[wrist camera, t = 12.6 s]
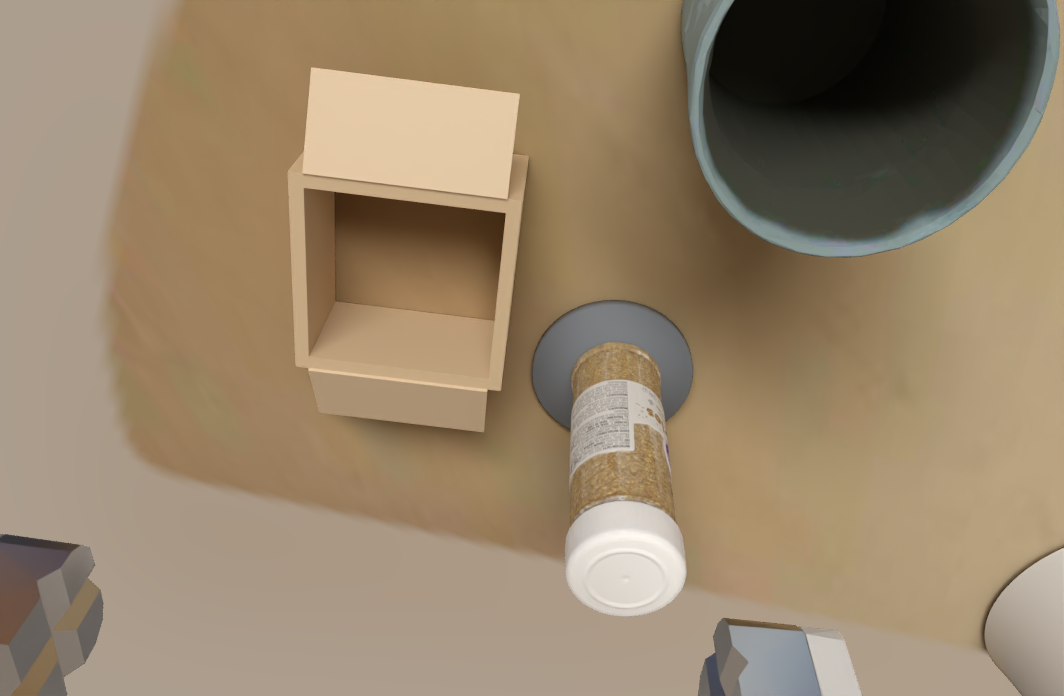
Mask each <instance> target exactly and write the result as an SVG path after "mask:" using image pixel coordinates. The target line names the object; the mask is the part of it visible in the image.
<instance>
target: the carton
mask: <svg viewBox="0 0 1064 696" xmlns="http://www.w3.org/2000/svg"><path fill="white" fill-rule="evenodd" d="M519 97H520V94H515V93H508V92H500V91H492V90H484V89H476V88H468V87H461V86H453V85H445V84H437V83H429V82H421V81H414V80H406V79H398V78H390V77H382V76H374V75H367V74H359V73H351V72H343V71H335V70H327V69H319V68H312V67H311V78H310V89H309V101H308V112H307V124H306V136H305V147H304V151H303V153H302V154H301V155H300V156H299V158H298V159H297V160H296V162H295V163H294V164H293V165H292V167H291V168H290V169H289V171H288V190H289V214H290V239H291V264H292V289H293V313H294V338H295V363H296V367H304V368H309V370H308V371H309V375H310V379H311V383H312V386H313V390H314V394H315V398H316V401H317V405H318V409H319V413H326V414H335V415H343V416H351V417H360V418H368V419H377V420H385V421H393V422H402V423H410V424H418V425H427V426H435V427H444V428H452V429H460V430H469V431H477V432H484V427H485V415H486V403H487V390H495V391H501V385H502V378H503V370H504V363H505V355H506V348H507V341H508V333H509V325H510V316H511V307H512V299H513V290H514V282H515V273H516V264H517V256H518V247H519V239H520V230H521V221H522V213H523V204H524V196H525V187H526V178H527V170H528V161H529V156H525V155H517V154H513V148H514V140H515V131H516V123H517V114H518V106H519ZM335 192H341V193H349V194H357V195H365V196H373V197H381V198H389V199H397V200H405V201H413V202H421V203H429V204H437V205H445V206H453V207H461V208H469V209H477V210H485V211H493V212H501V213H506V217H505V227H504V236H503V246H502V255H501V265H500V274H499V284H498V293H497V303H496V312H495V321H493V320H485V319H476V318H468V317H460V316H452V315H444V314H435V313H427V312H419V311H411V310H403V309H394V308H386V307H378V306H370V305H362V304H353V303H345V302H337V301H336V290H335Z"/></svg>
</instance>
